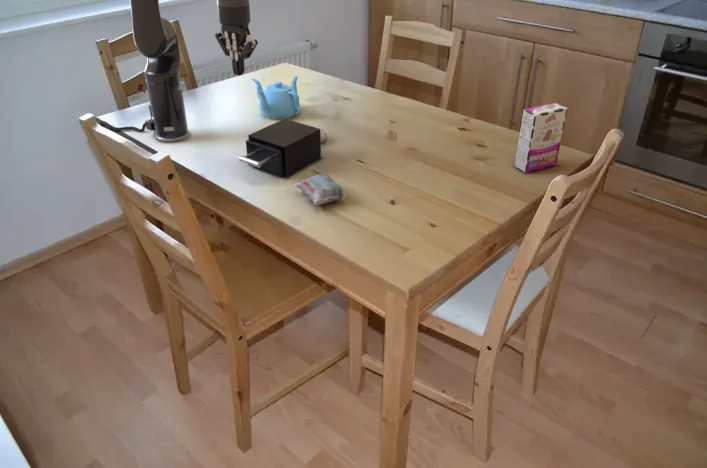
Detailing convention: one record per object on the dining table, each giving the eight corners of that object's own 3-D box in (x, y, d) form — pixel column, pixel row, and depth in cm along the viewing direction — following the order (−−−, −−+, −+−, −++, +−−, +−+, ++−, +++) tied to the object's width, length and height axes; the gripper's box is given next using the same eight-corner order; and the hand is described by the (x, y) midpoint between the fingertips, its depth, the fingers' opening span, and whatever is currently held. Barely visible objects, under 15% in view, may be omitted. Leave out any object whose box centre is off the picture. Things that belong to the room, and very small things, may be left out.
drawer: (266, 184, 146) (264, 159, 143) (233, 171, 152) (230, 147, 148) (313, 158, 159) (312, 134, 156) (281, 147, 165) (279, 125, 161)
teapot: (305, 120, 184) (304, 88, 179) (257, 123, 182) (254, 91, 176) (299, 104, 197) (298, 74, 191) (254, 107, 194) (251, 76, 188)
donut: (288, 145, 168) (321, 148, 167) (287, 134, 167) (321, 137, 165) (297, 132, 177) (329, 134, 175) (297, 121, 175) (329, 124, 173)
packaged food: (314, 213, 136) (314, 194, 134) (294, 191, 145) (293, 173, 142) (347, 204, 140) (348, 186, 137) (325, 184, 149) (325, 166, 146)
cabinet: (286, 177, 151) (284, 146, 147) (250, 164, 157) (248, 135, 153) (321, 158, 161) (320, 128, 157) (286, 146, 167) (284, 118, 163)
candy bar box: (543, 158, 163) (555, 101, 154) (556, 165, 159) (569, 108, 151) (512, 166, 159) (522, 108, 150) (525, 173, 155) (536, 114, 146)
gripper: (264, 3, 138) (268, 76, 147) (225, -5, 144) (231, 65, 154) (241, 8, 133) (247, 83, 142) (202, 0, 139) (209, 72, 148)
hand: (238, 74), depth 148 cm, fingers closed
